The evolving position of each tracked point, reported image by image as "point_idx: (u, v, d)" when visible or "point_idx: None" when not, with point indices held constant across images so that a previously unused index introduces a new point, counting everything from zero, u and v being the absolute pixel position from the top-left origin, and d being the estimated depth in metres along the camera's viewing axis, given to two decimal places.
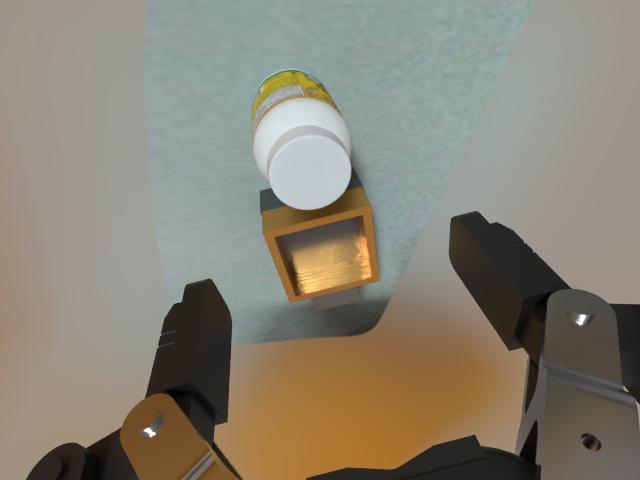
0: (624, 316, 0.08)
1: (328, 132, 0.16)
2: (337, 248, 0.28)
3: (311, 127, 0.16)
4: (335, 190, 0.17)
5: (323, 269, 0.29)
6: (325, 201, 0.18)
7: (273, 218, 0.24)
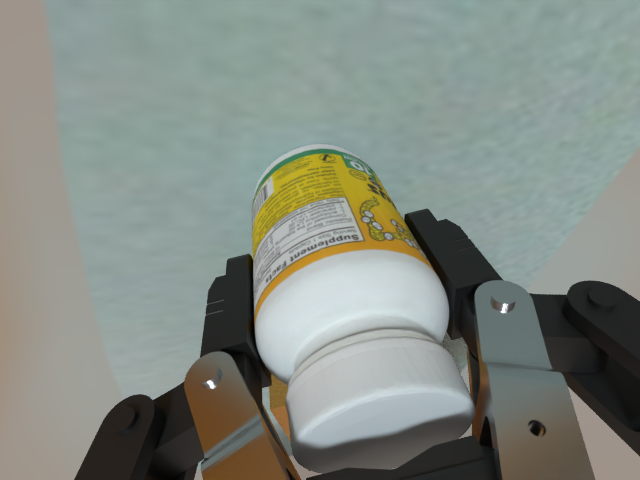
0: (546, 305, 0.08)
1: (430, 353, 0.07)
2: None
3: (392, 346, 0.07)
4: None
5: None
6: (407, 461, 0.08)
7: None
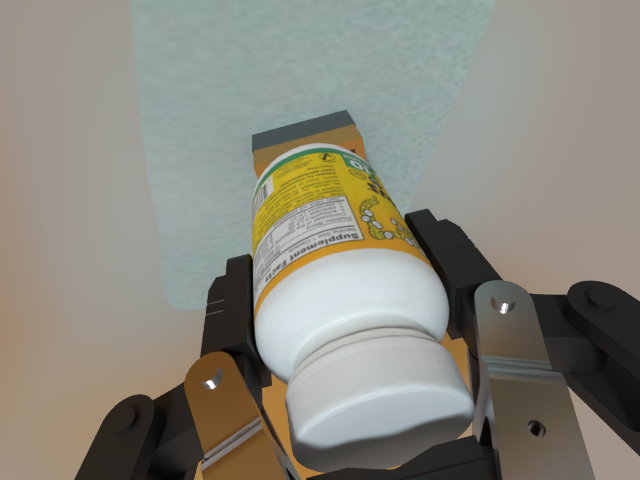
0: (545, 305, 0.08)
1: (430, 352, 0.07)
2: None
3: (392, 345, 0.07)
4: (431, 446, 0.08)
5: None
6: (407, 459, 0.08)
7: (264, 155, 0.24)
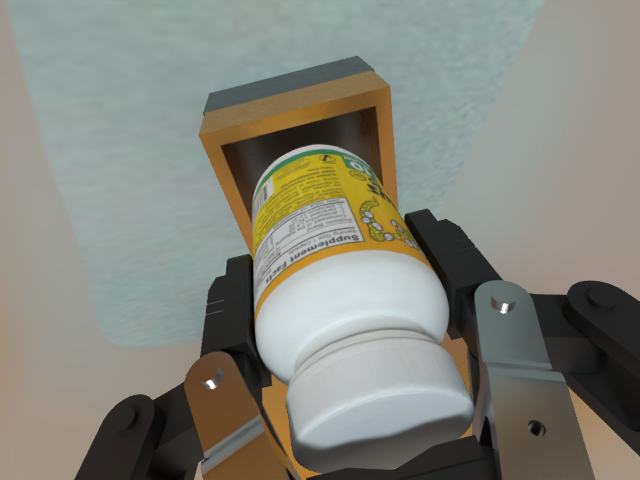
0: (545, 305, 0.08)
1: (430, 353, 0.07)
2: None
3: (392, 347, 0.07)
4: None
5: None
6: (407, 461, 0.08)
7: (221, 117, 0.14)
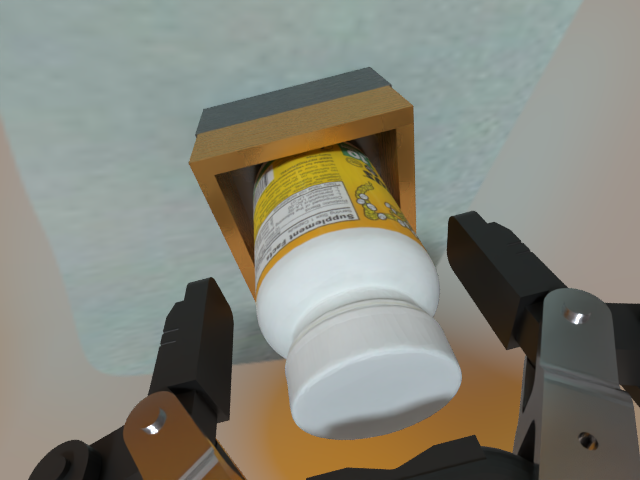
0: (620, 315, 0.08)
1: (419, 320, 0.08)
2: None
3: (383, 313, 0.07)
4: (422, 412, 0.09)
5: None
6: (399, 426, 0.09)
7: (216, 141, 0.12)
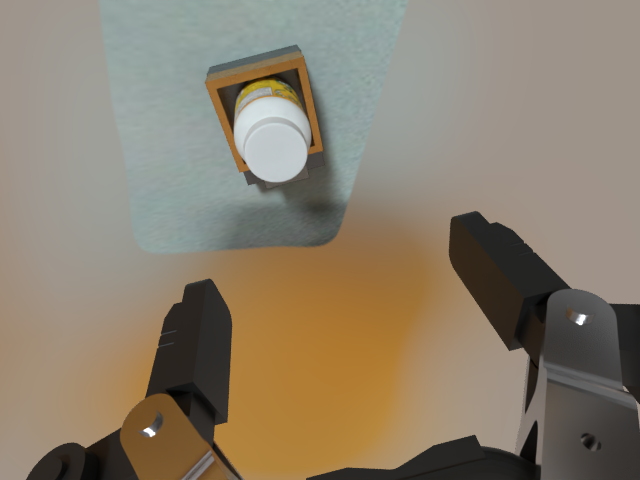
0: (624, 316, 0.08)
1: (288, 121, 0.21)
2: None
3: (275, 118, 0.21)
4: (296, 166, 0.23)
5: None
6: (289, 175, 0.23)
7: (216, 75, 0.26)
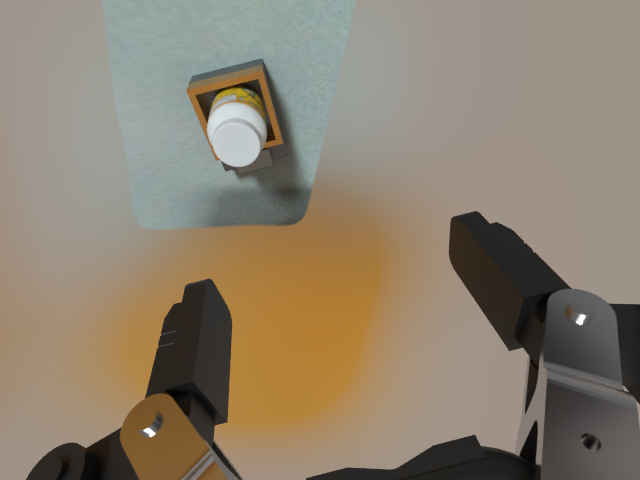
0: (624, 316, 0.08)
1: (245, 121, 0.29)
2: None
3: (235, 118, 0.29)
4: (252, 155, 0.30)
5: None
6: (247, 161, 0.30)
7: (196, 84, 0.34)
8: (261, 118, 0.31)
